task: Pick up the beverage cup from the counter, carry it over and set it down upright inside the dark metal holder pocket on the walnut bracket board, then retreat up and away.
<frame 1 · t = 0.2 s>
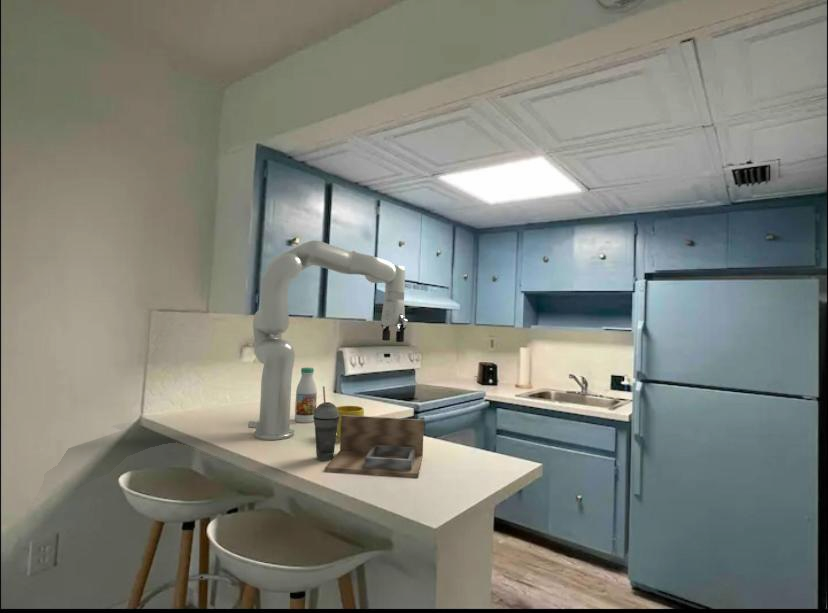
hand: (392, 341, 172), 31 cm above the counter, tool pointing down, fingers open, 9 cm apart
beverage cup: (324, 459, 124), on the counter
plant pot: (347, 438, 146), on the counter
cup bracket: (376, 464, 120), on the counter
milk bottle: (305, 421, 167), on the counter
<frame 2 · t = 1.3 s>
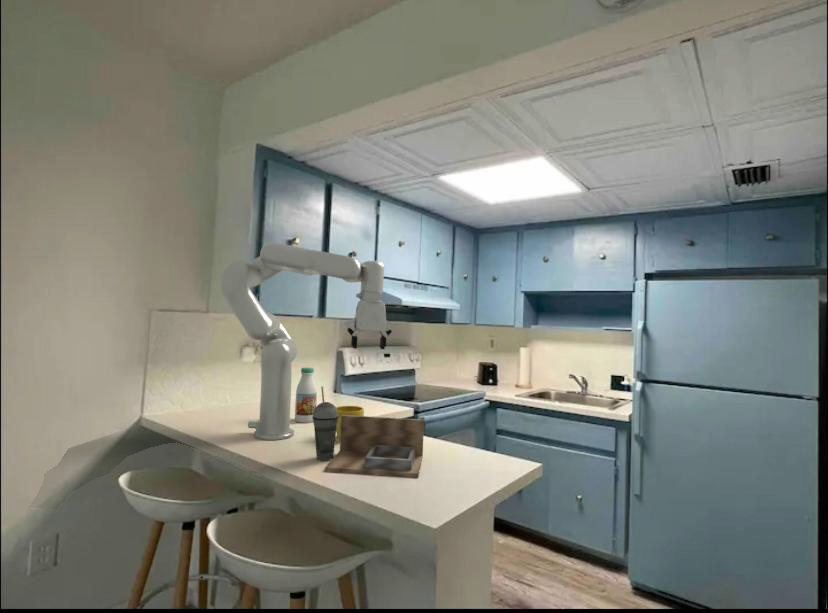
hand: (368, 348, 149), 29 cm above the counter, tool pointing down, fingers open, 9 cm apart
nothing on the counter moved.
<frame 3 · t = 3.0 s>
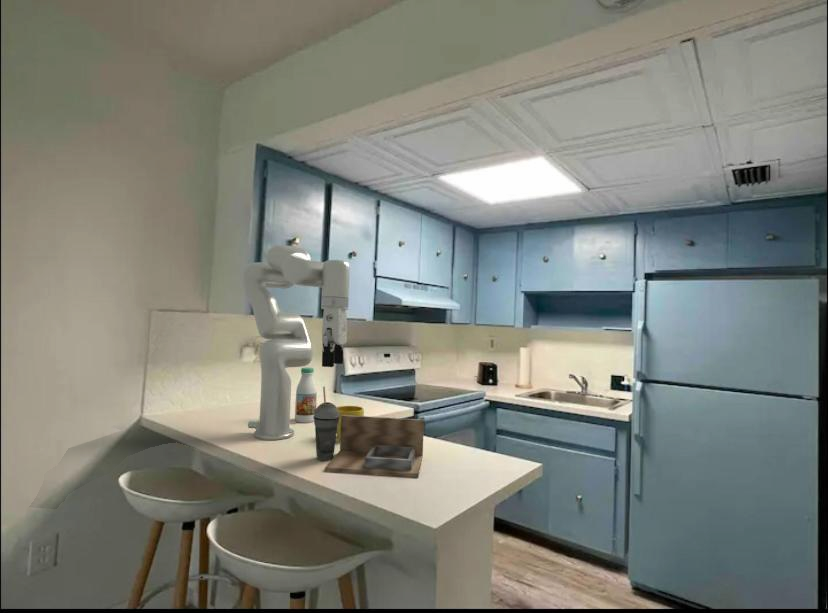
hand: (332, 365, 124), 26 cm above the counter, tool pointing down, fingers open, 9 cm apart
nothing on the counter moved.
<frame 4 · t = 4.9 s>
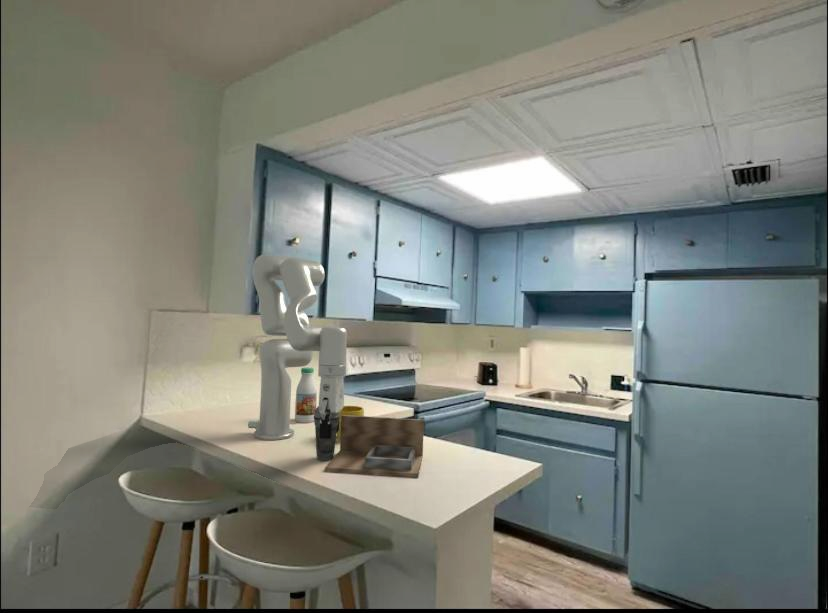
hand: (329, 434, 124), 7 cm above the counter, tool pointing down, fingers closed on beverage cup, 7 cm apart
beverage cup: (324, 459, 124), on the counter, touching gripper
everything else where it was.
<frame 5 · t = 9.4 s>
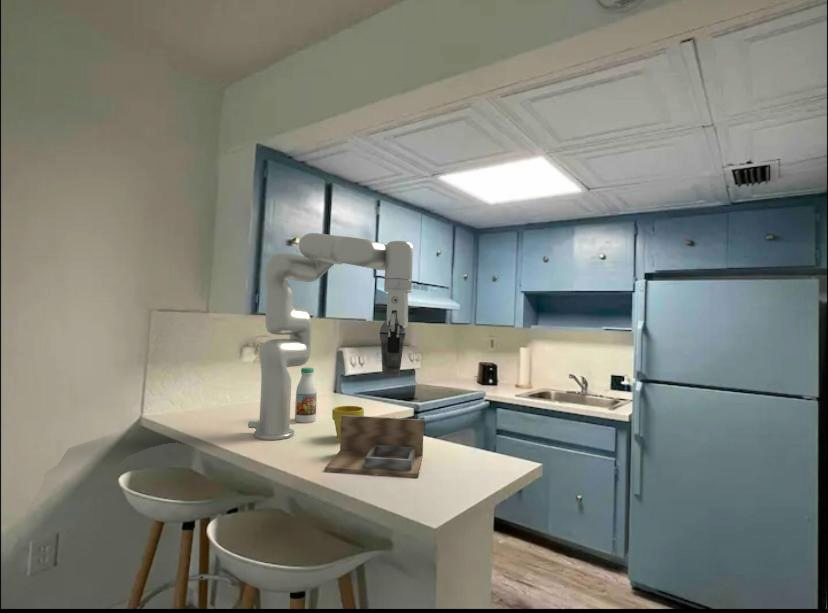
hand: (395, 351, 121), 31 cm above the counter, tool pointing down, fingers closed on beverage cup, 7 cm apart
beverage cup: (390, 376, 121), point 24 cm above the counter, touching gripper
everything else where it was.
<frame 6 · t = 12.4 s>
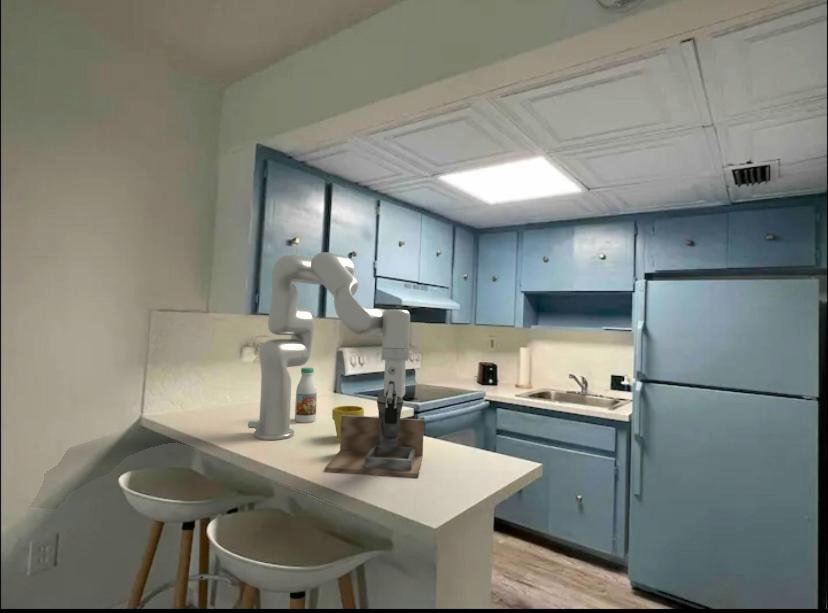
hand: (392, 419, 120), 12 cm above the counter, tool pointing down, fingers closed on beverage cup, 7 cm apart
beverage cup: (388, 445, 120), point 5 cm above the counter, touching gripper
everything else where it was.
when the fingers open (9 cm above the counter, at t = 13.9 s): beverage cup drops 1 cm, resting on cup bracket.
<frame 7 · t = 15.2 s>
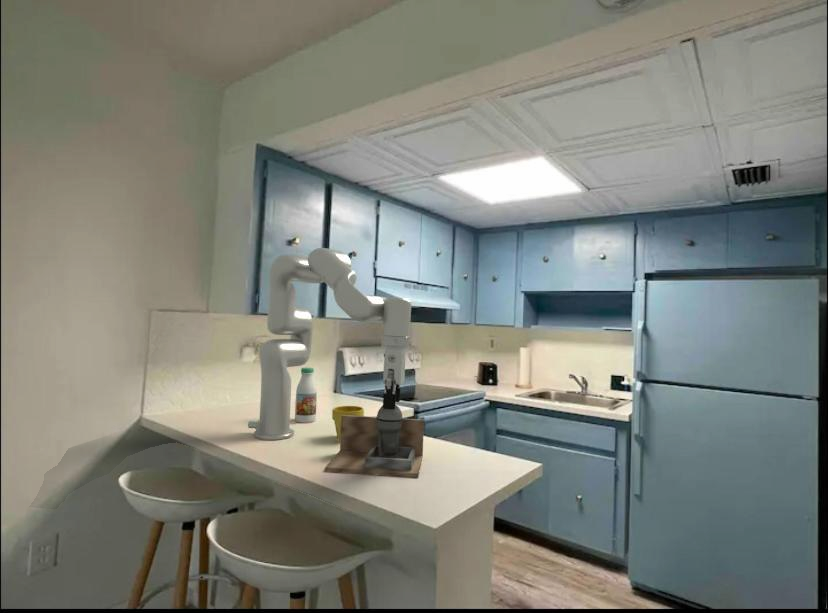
hand: (391, 405, 121), 16 cm above the counter, tool pointing down, fingers open, 9 cm apart
beverage cup: (387, 461, 120), point 1 cm above the counter, touching cup bracket
everything else where it was.
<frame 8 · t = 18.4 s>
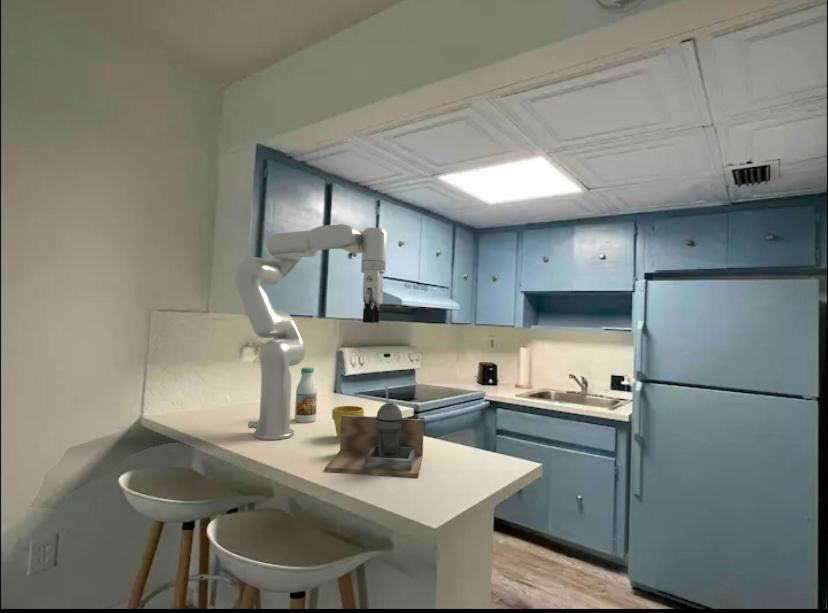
hand: (371, 322, 138), 38 cm above the counter, tool pointing down, fingers open, 9 cm apart
nothing on the counter moved.
at the end: beverage cup 1.0 cm from the target spot on the cup bracket, point 0.8 cm above the cup bracket's base; beverage cup tilted 0°; the gripper is holding nothing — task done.
